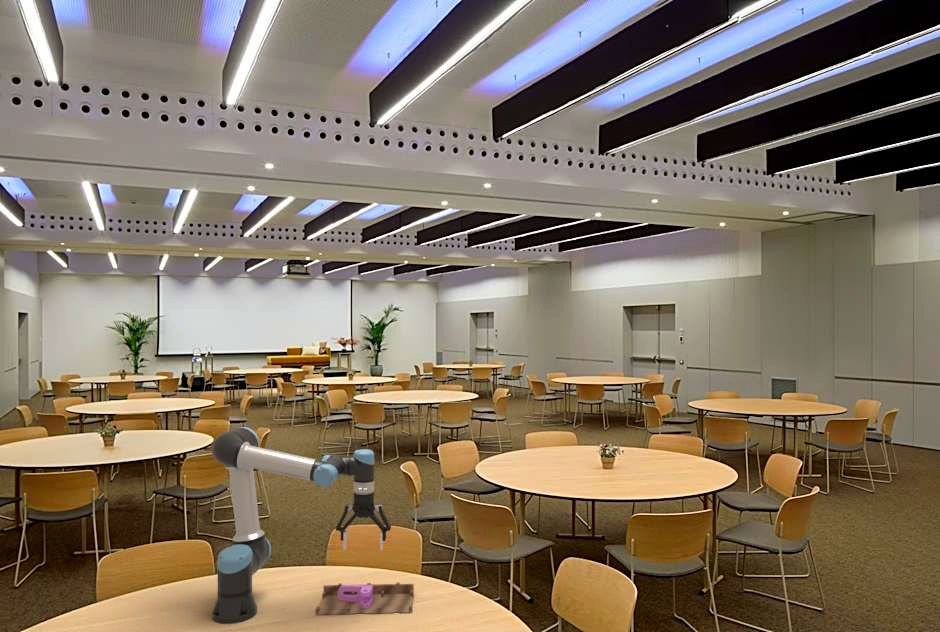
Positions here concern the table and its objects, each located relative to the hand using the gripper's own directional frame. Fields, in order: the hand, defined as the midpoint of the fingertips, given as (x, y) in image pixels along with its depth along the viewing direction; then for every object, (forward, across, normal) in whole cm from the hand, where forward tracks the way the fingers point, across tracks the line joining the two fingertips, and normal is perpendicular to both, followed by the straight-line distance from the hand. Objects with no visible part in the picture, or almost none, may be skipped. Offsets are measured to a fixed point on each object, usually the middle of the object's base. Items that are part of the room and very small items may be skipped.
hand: (363, 549), depth 244 cm
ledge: (+20, +2, -2) cm, 20 cm away
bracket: (+16, -3, 0) cm, 16 cm away
